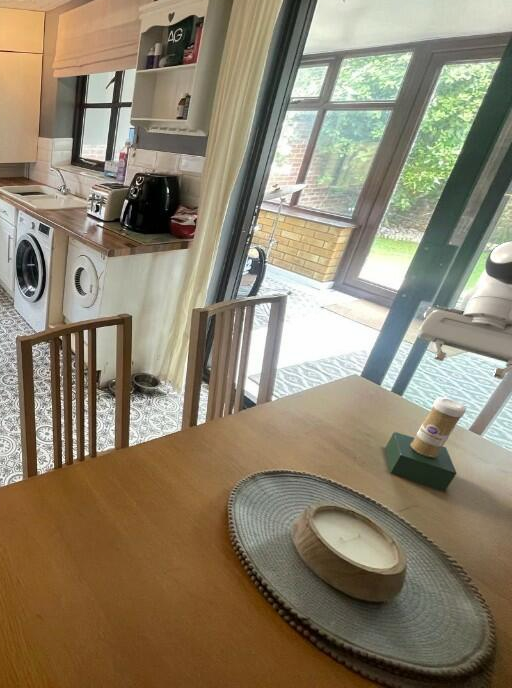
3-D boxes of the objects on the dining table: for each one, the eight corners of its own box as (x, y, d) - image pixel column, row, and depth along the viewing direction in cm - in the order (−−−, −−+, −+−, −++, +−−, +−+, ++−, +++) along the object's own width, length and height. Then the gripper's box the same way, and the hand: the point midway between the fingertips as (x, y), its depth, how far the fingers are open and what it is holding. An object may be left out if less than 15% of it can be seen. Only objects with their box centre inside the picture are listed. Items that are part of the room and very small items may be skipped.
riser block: (434, 464, 95) (445, 447, 93) (444, 491, 89) (456, 473, 86) (384, 448, 100) (394, 431, 98) (390, 473, 93) (400, 455, 91)
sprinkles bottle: (407, 449, 92) (435, 402, 87) (411, 440, 95) (438, 393, 89) (435, 461, 89) (465, 413, 83) (439, 451, 92) (468, 404, 86)
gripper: (432, 297, 100) (408, 345, 98) (565, 327, 86) (541, 383, 84) (426, 308, 105) (404, 354, 103) (552, 339, 91) (529, 392, 89)
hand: (467, 368), depth 94 cm, fingers open, 8 cm apart
